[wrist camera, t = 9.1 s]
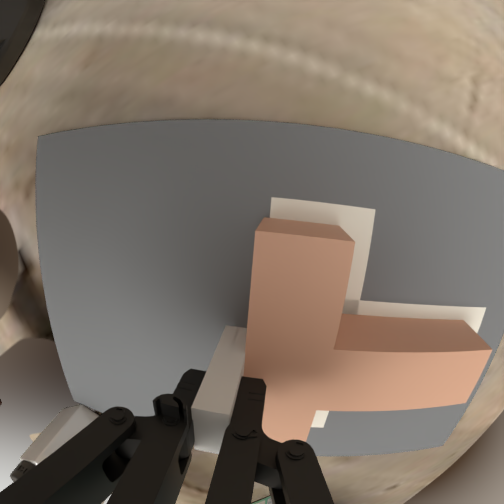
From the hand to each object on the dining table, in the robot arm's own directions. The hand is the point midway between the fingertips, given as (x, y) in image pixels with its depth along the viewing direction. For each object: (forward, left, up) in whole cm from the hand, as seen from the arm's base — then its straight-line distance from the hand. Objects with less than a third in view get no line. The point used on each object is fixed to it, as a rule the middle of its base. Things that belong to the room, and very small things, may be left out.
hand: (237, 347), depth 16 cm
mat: (0, +2, -2) cm, 3 cm away
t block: (0, +8, -2) cm, 8 cm away
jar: (+17, -15, -3) cm, 23 cm away
